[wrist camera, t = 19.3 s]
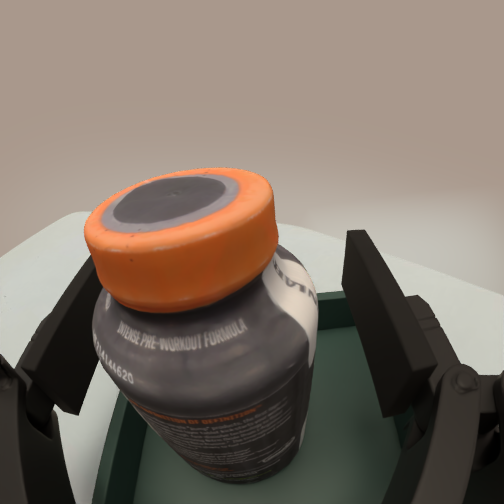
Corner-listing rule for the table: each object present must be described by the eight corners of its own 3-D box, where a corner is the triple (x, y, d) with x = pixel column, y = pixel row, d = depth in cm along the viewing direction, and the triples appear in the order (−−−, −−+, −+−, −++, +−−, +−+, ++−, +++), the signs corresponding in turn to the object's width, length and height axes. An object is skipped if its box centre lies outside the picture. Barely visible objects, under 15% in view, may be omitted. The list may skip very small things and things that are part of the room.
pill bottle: (321, 400, 13) (352, 159, 6) (270, 505, 8) (223, 361, 2) (217, 364, 15) (164, 152, 9) (155, 448, 11) (3, 242, 5)
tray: (122, 535, 7) (86, 528, 5) (163, 335, 18) (149, 301, 16) (423, 523, 6) (456, 514, 4) (368, 322, 17) (377, 286, 15)
